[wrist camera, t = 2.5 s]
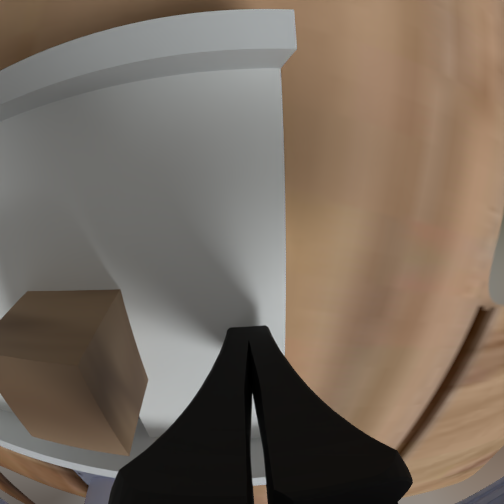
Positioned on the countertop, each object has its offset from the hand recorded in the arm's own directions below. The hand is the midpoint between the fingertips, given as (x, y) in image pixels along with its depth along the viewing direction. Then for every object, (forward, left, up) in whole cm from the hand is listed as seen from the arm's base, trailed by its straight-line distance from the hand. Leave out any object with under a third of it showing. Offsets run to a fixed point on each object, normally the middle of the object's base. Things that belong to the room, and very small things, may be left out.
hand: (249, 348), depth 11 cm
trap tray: (+1, +15, -2) cm, 15 cm away
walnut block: (0, +7, -1) cm, 7 cm away
